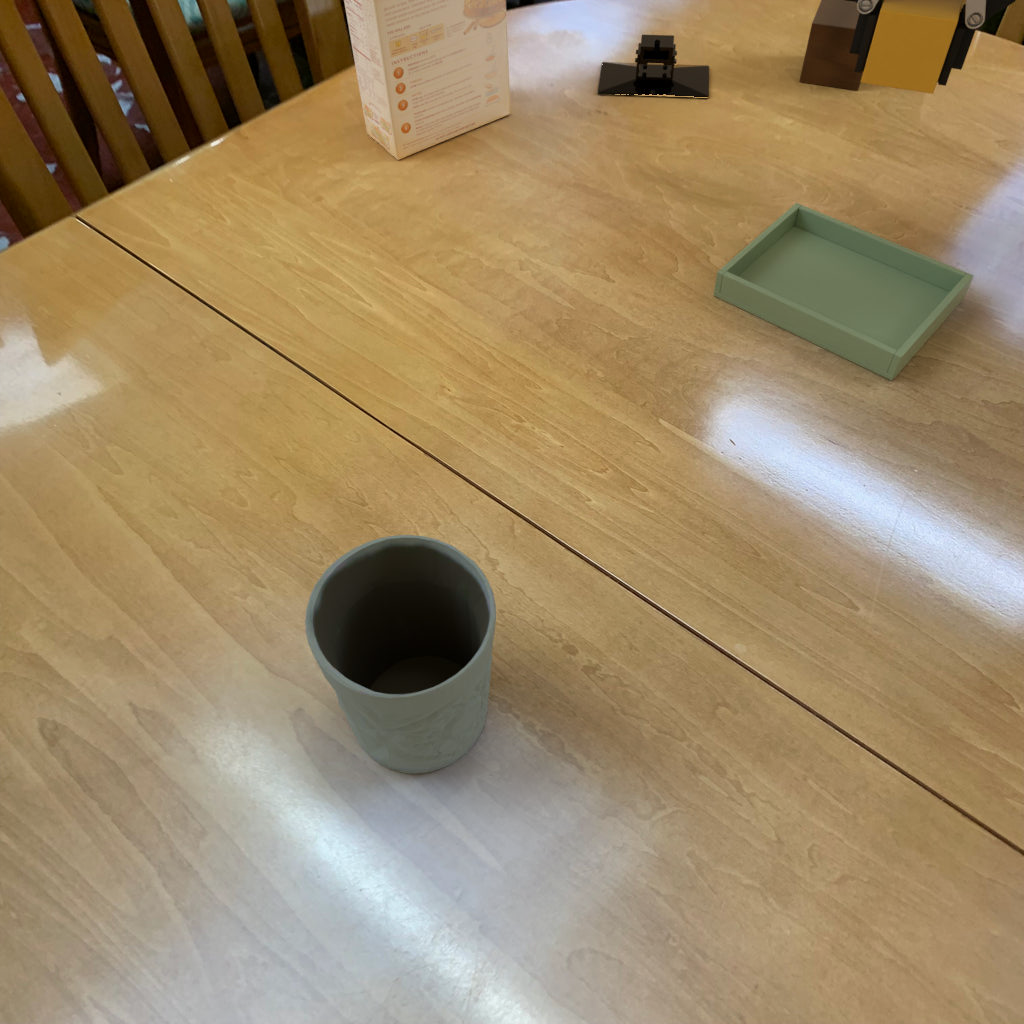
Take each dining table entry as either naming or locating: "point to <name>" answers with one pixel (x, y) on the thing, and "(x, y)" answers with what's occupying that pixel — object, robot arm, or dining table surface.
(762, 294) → the tray
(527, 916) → the dining table surface
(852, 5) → the base block
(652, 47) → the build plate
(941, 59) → the top block
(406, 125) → the coffeecake box
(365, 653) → the grey green cup
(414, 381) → the dining table surface
